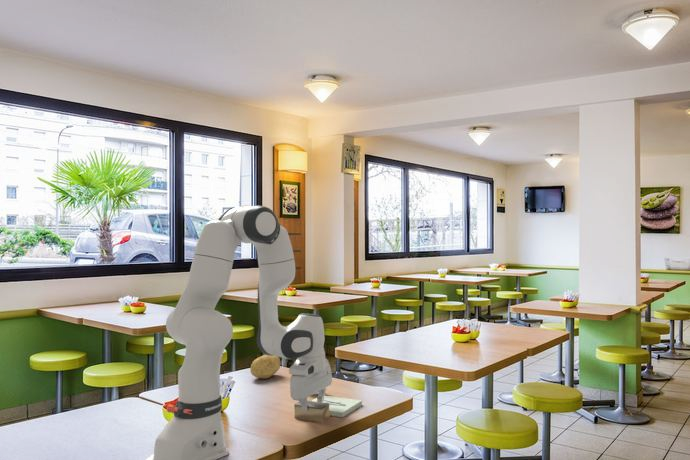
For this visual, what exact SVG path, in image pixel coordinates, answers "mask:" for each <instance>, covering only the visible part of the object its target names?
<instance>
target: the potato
mask: <svg viewBox="0 0 690 460" xmlns="http://www.w3.org/2000/svg"><path fill="white" fill-rule="evenodd" d="M280 368H281V359H280V357H277V356H271V355H265V354H263V355H261V356H259V357H257V358H255V359H254V360H253V361H252V363H251V365H250V369H249V370H250V373H251V375H252V376H253V377H254V378H258V379H269V378H271V377H272V376H274V375H275V374H276V373H277V372H278V371H279V370H280Z"/></svg>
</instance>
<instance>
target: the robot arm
mask: <svg viewBox="0 0 690 460" xmlns="http://www.w3.org/2000/svg"><path fill="white" fill-rule="evenodd" d="M241 243H244V244H252V245H253V247H254V248H255V249H256V254H257V264H258V272H259V273H258V274H259V277H258V279H259V280H258V283H257V307H258V308H257V309H258V310H257V311H258V312H257V313H258V329H257V334H256V346H257V348H258V350H259V351H260V352H261V353H262V354H263V355H271V356H277V357H279V358H282V359H285V360H286V359H287V360H294V359H296V360H295V361H294V363H293V364H291V366H290V367H289V369H288V370H289V371H288V372H289V373H288V374H289V375H291V376H290V380H289V390H290V391H289V393H290V397H291V400H293V401H298V402H300V404H301V406H302V411H303V412H306V411H308V410H309V405H307V403H306V401H308V398H310V397H311V396H314V395H313V394H315V393H317V392H318V391H319V394H318V396H317V397H316V398H317V402H321V403H322V402H324V396H326V395H325V394H326V390H327V388H328V387H329V386H331V385H332V382H333V376H332V375H333V374H332V368H331V365H330V363H329V360H328V359H327V358H326V351H325V347H324V345H325V327H324V321H323V318H322V317H321V316H320V315H319V314H315V313H308V312H307V313H305V312H304V313H303V312H302V313H300V314H298V315H297V317H296V319H295V320H294V321H292V322H291V323H289V324H288V325H286V326H285V325H282V324H281V323H280V321H279V314H278V313H279V311H278V297H279V294H280V293H281V292H282V290H284V289H286V288H288V287H289V286H290V285H291V284H292V283H293V282H294V279H295V277H296V261H295V255H294V250H293V246H292V245H293V244H292V242H291V239H290V236H289V233H288V230H287V229H286V227H284V226H282V225H281V224H280V223H279V219H278V217H277V215H276V213H275V212H274V211H273V210H272V209H271V208H269V207H267V206H264V205H240V206H236V207H235V206H234V207H230V208H228V209H226V210H225V211H224V212H222V213H221V215H220V216H219V217H218V218H217V219H216V220H212V221H211V220H210V221H208V222H207V223H205V224H204V226H203V228H202V229H201V232H200V235H199V238H198V240H197V243H196V245H195V250H194V253H193V257H192V263H191V266H190V269H189V270H190V271H189V273H188V279H187V281H186V285H185V287H184V289H183V291H182V294H181V295H180V297H179V299H178V302H177V304H176V306H175V308H174V309H173V310H172V311H171V312H170V313H169V314H168V316H167V318H166V320H165V328H166V331H167V333H168V335H169V336H170V337H171V338H172V339H173V340H174V341H175V342H176V343H178V344H181V345H184V346H185V353H184V358H183V363H182V366H181V367H180V368H179V370H178V373H177V374H178V375H177V378H178V382H177V383H178V384H177V385H178V387H177V388H178V399H177V400H176V403H175V405H172V404H168V405H167V407H166V412H167V413H170V414H171V413H172V414H173V417H172V418H171V419H170V420H169V422H167V424H166V425H165V427H164V428H163V429H162V430H161V432H160V433H159V434H158V435H157V437H156V438H155V441H154V447H153V448H154V449H153V453H152V454H151V455H150V456H148V457H146V458H145V459H144V460H218V459H220V458H223V457H225V456H227V455H229V448H228V444H227V441H226V435H225V426H224V425H225V424H224V421H223V418H222V413H221V412H222V409H223V400H222V395H221V386H220V385H221V379H220V378H221V376H220V375H221V364H222V358H223V356H224V351H225V348H226V347H227V346H228V344H229V343H230V341H231V340H232V337H233V334H234V327H233V324H232V322H231V320H230V319H229V317H227V316H226V315H224V314H223V313H222V312H220V311H218V310H216V309H215V308H216V306H217V304H218V302H219V301H220V299H221V297H222V296H224V294H225V293H226V292H227V290H228V287H229V283H230V279H231V273H232V269H233V264H234V259H235V253H236V251H237V249H238V246H239V245H240V244H241Z"/></svg>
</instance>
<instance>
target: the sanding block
mask: <svg viewBox="0 0 690 460" xmlns="http://www.w3.org/2000/svg"><path fill="white" fill-rule="evenodd" d="M306 403H307V405H309V410H308V411H306V412H303V411H302V406H301V404H300V402H299V401H298V402H296V403H295V404H294V405H293V406H294V408H293V409H294V418H295V419H299V420H307V421H315V422H319V423H320V422H321V423H323V422H324V421H326V420H327V419H328V418H330V416H331V415H329V404H328V403H321V402H313V401H311V400H307V401H306Z"/></svg>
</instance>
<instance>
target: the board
mask: <svg viewBox="0 0 690 460" xmlns="http://www.w3.org/2000/svg"><path fill="white" fill-rule="evenodd" d="M310 401H313V402H317V397H315V398H313V399H312V400H310ZM322 403H328V404H329V416H332V417H339V418H344V417H345V416H348V415H349V414H350V413H352V412H353V411H355V410H356V409H358V408H359V407H361V406H362V405H363V400H361V399H355V398H344V397H338V396H330V395H324V402H322Z"/></svg>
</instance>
